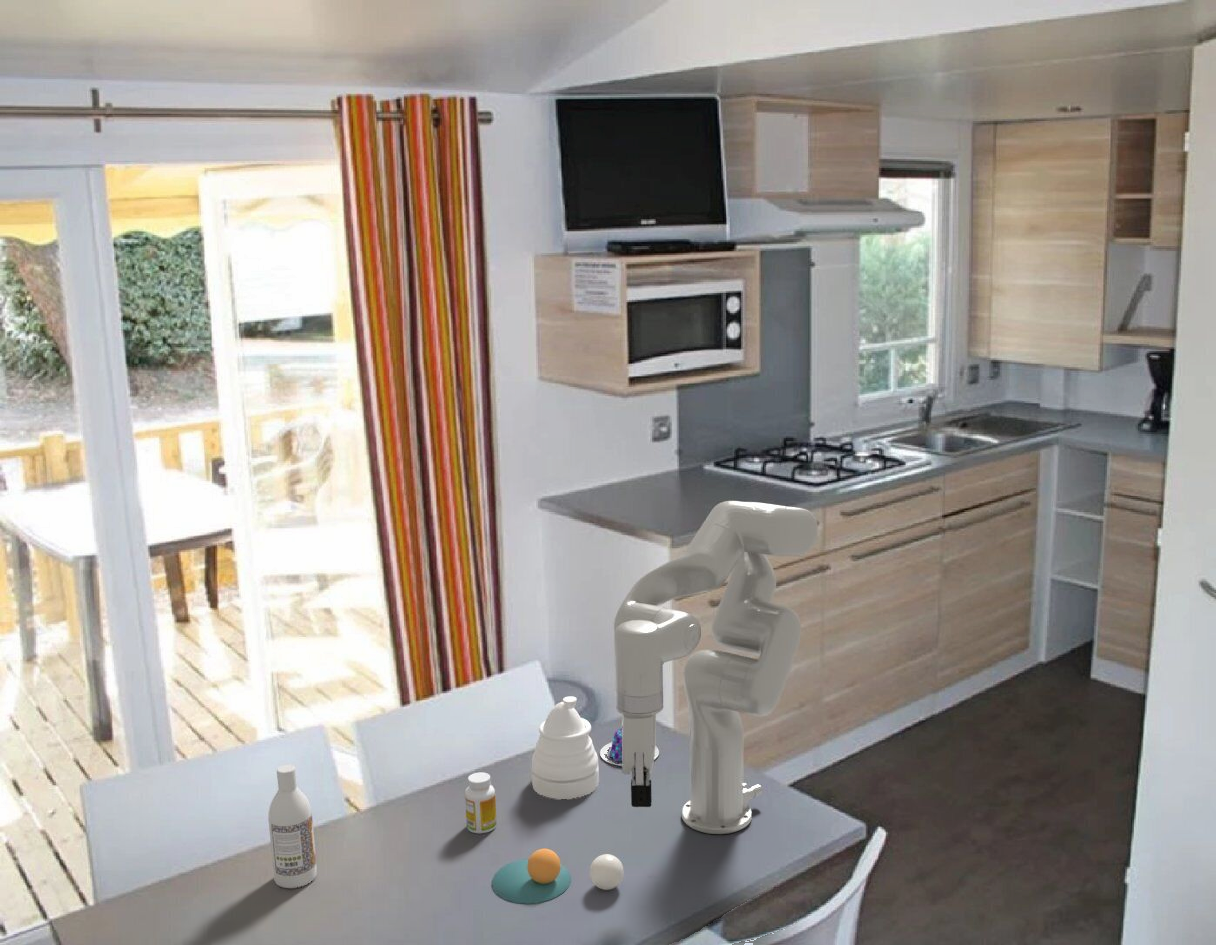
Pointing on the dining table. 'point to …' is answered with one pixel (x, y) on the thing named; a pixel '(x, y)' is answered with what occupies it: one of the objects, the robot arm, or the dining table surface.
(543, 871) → the orange ball
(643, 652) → the robot arm
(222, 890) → the dining table surface
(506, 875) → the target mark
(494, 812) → the supplement bottle
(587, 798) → the dining table surface
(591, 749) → the honey pot
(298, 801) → the bath foam
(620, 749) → the pudding
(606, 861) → the white ball
